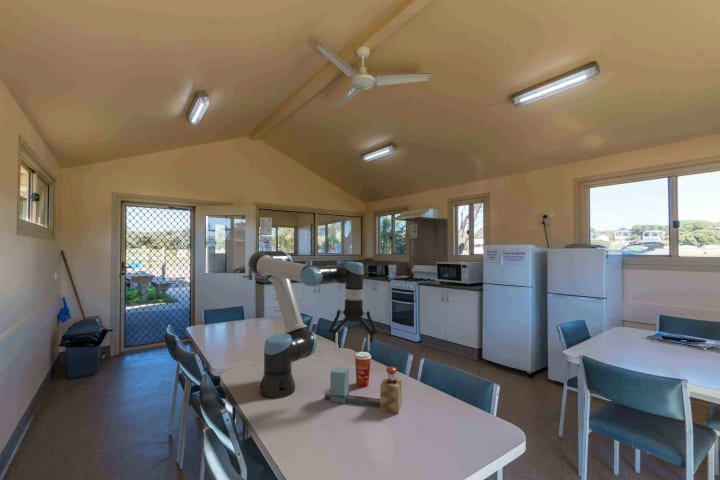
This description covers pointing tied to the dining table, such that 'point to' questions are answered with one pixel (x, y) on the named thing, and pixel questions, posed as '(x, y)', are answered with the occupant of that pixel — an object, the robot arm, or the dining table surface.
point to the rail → (358, 400)
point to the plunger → (391, 374)
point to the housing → (391, 396)
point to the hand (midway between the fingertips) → (352, 349)
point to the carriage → (339, 384)
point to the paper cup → (362, 368)
